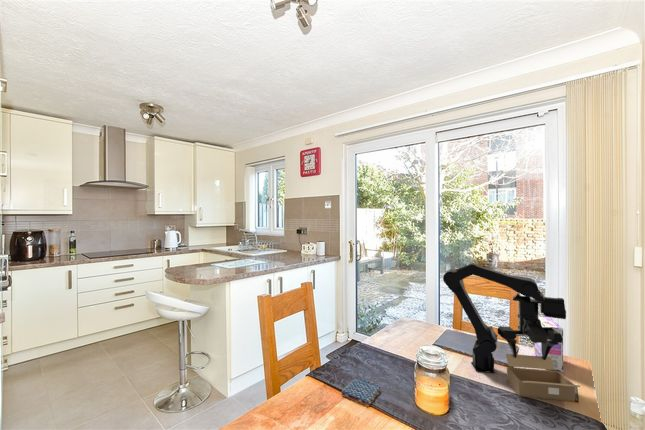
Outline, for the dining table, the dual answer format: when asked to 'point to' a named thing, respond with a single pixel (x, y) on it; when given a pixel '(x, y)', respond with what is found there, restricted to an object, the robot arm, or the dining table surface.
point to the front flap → (551, 384)
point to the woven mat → (361, 391)
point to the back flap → (530, 362)
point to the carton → (539, 390)
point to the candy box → (556, 350)
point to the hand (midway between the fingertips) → (529, 358)
